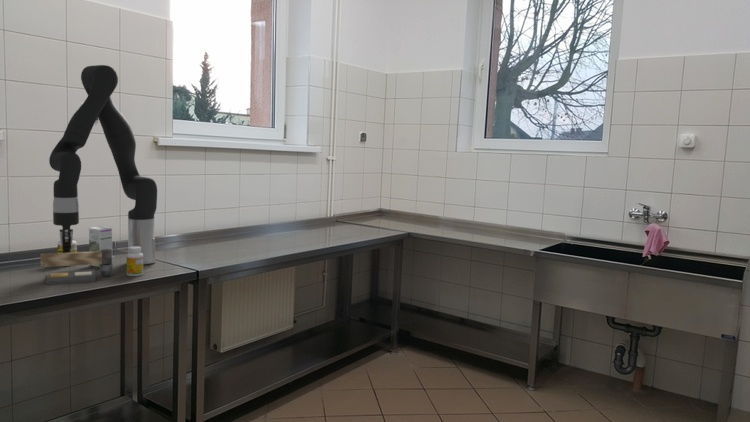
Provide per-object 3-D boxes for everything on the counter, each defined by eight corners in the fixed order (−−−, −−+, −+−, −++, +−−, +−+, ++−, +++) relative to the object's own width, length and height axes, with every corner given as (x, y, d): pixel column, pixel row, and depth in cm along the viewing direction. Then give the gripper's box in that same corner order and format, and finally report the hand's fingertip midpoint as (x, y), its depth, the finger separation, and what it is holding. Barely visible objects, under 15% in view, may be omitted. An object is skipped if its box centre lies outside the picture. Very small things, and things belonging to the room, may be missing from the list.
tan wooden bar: (111, 262, 189) (111, 249, 189) (112, 264, 186) (112, 250, 186) (41, 265, 179) (40, 252, 179) (40, 268, 176) (40, 254, 176)
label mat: (94, 272, 192) (94, 268, 192) (95, 281, 180) (95, 276, 180) (48, 274, 185) (48, 270, 185) (46, 284, 173) (46, 280, 173)
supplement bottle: (123, 274, 190) (123, 247, 189) (137, 272, 195) (137, 245, 194) (132, 277, 187) (131, 249, 186) (146, 274, 192) (146, 247, 191)
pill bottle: (53, 264, 200) (53, 235, 199) (68, 262, 206) (68, 233, 205) (65, 266, 198) (65, 236, 197) (80, 263, 204) (80, 234, 202)
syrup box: (113, 265, 203) (113, 227, 202) (99, 268, 198) (99, 228, 196) (102, 263, 206) (102, 225, 204) (88, 266, 200) (88, 227, 199)
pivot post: (112, 274, 190) (112, 262, 190) (113, 276, 187) (112, 265, 186) (99, 274, 188) (99, 263, 188) (100, 277, 185) (99, 265, 184)
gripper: (79, 212, 179) (80, 264, 181) (77, 208, 191) (78, 256, 192) (52, 213, 175) (54, 265, 177) (53, 208, 187) (54, 258, 189)
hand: (66, 260), depth 185 cm, fingers closed
